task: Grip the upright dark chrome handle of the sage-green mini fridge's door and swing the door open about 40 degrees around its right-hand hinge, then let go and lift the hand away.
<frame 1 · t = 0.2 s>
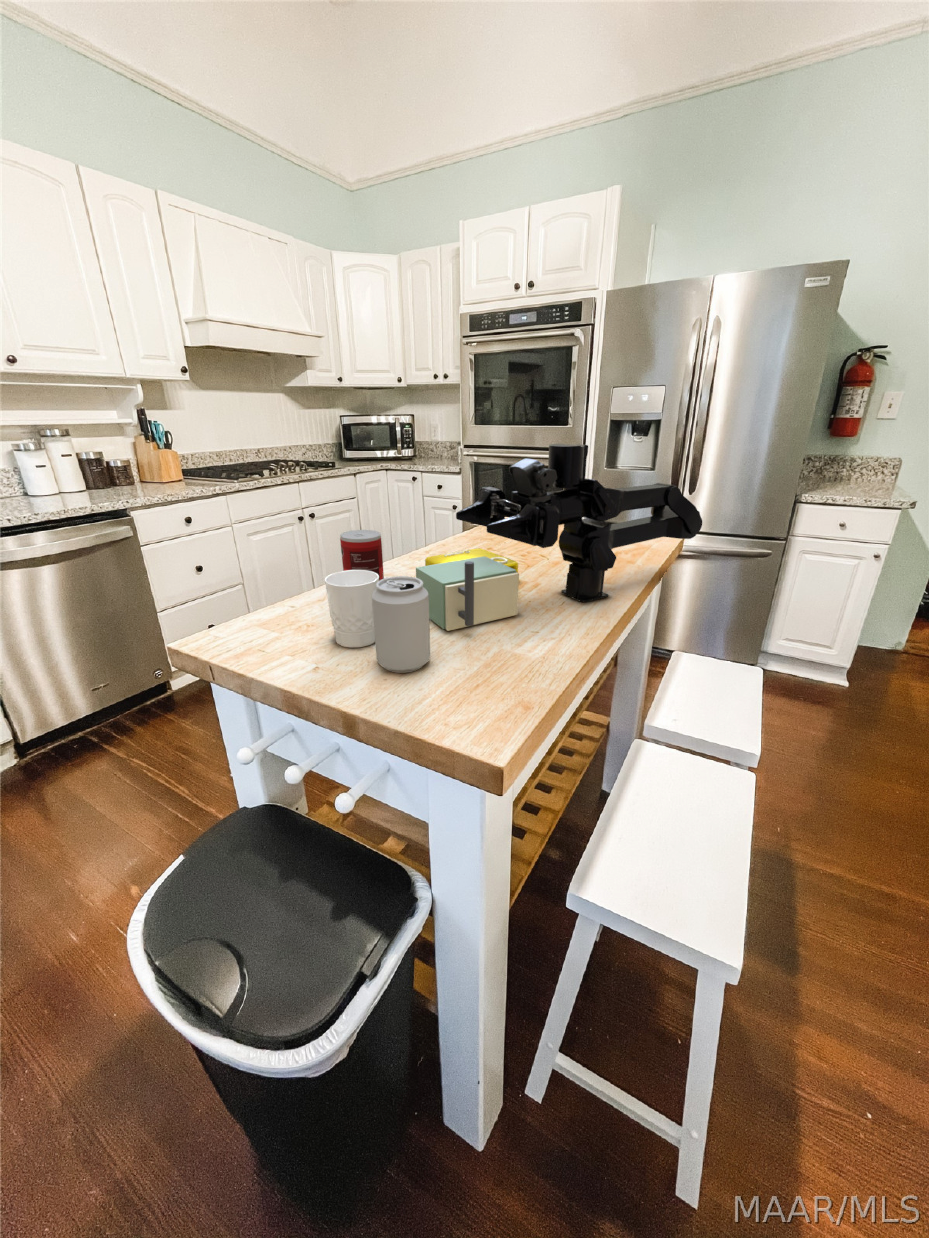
hand: (471, 522, 77), 17 cm above the table, tool horizontal, fingers open, 9 cm apart
white cup: (357, 639, 78), on the table
fridge door: (489, 591, 79), point 6 cm above the table, hinge at 0.0°
mini fridge: (465, 612, 88), on the table
canned food: (365, 589, 100), on the table
can: (404, 664, 70), on the table
element tile: (470, 580, 104), on the table
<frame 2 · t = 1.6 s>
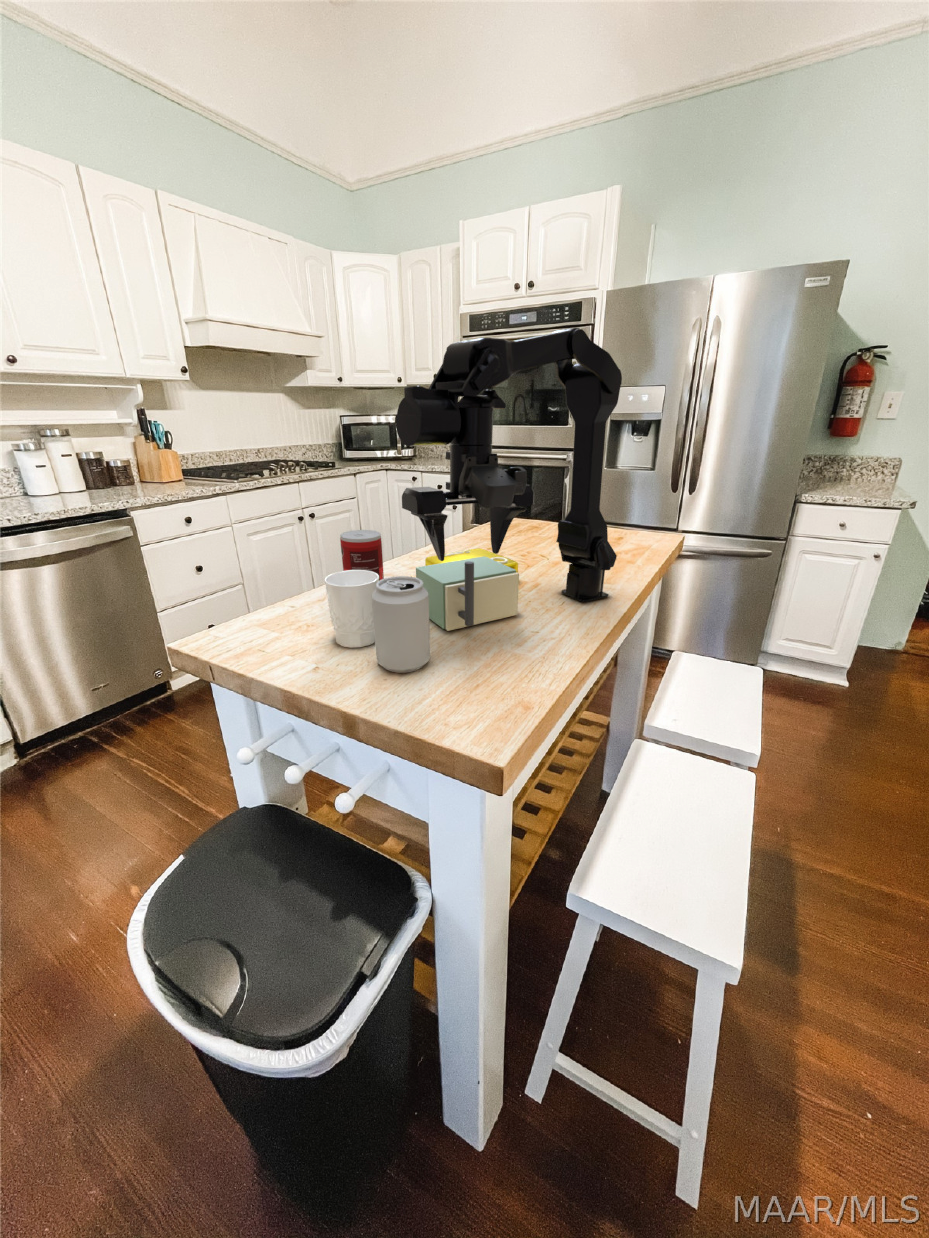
hand: (469, 556, 74), 13 cm above the table, tool pointing down, fingers open, 9 cm apart
nothing on the table moved.
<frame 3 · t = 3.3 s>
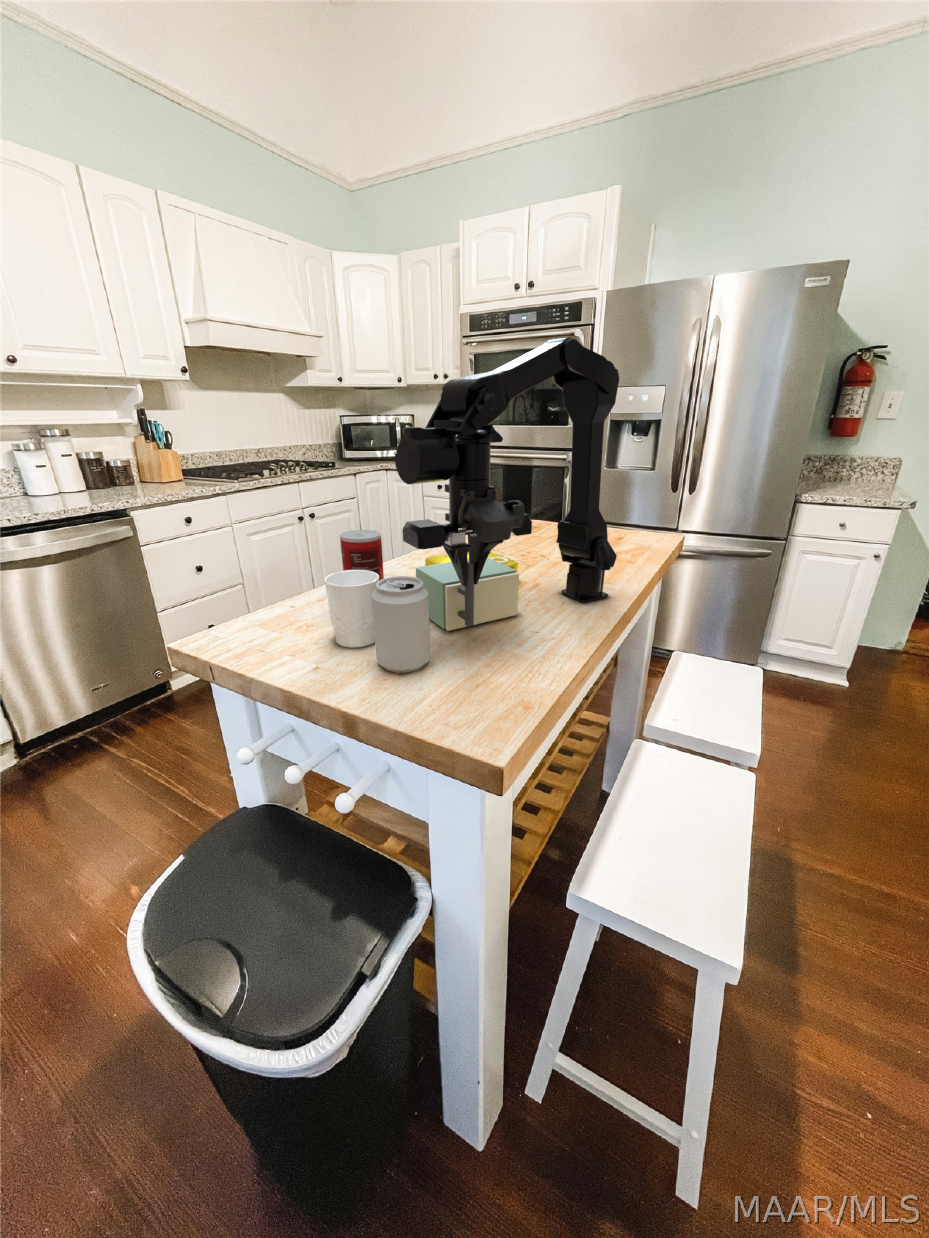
hand: (469, 584, 75), 9 cm above the table, tool pointing down, fingers closed on fridge door
fridge door: (489, 591, 79), point 6 cm above the table, hinge at 0.0°, touching gripper
everything else where it was.
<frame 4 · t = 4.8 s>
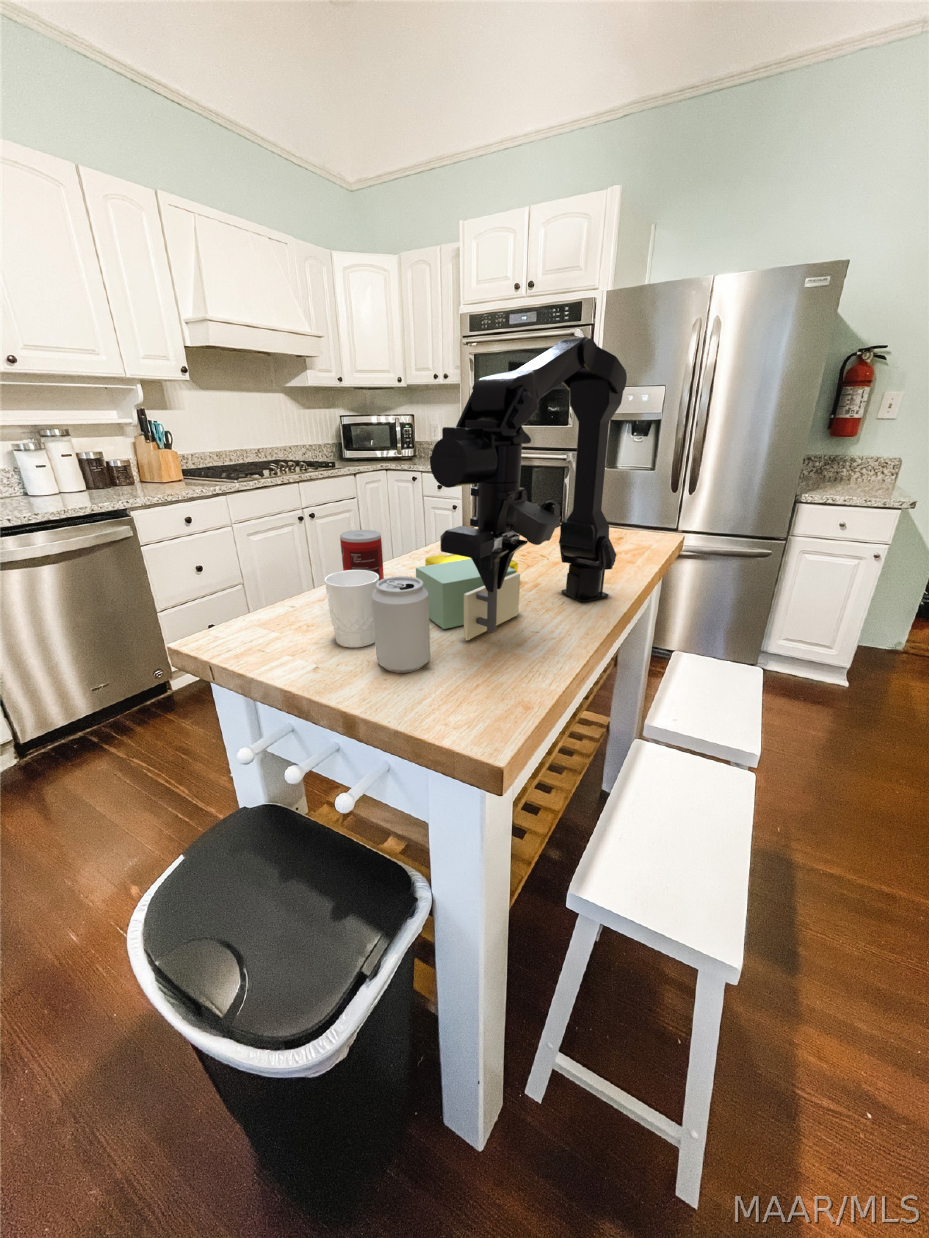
hand: (493, 590, 73), 9 cm above the table, tool pointing down, fingers closed on fridge door
fridge door: (502, 594, 78), point 6 cm above the table, hinge at 19.8°, touching gripper
everything else where it was.
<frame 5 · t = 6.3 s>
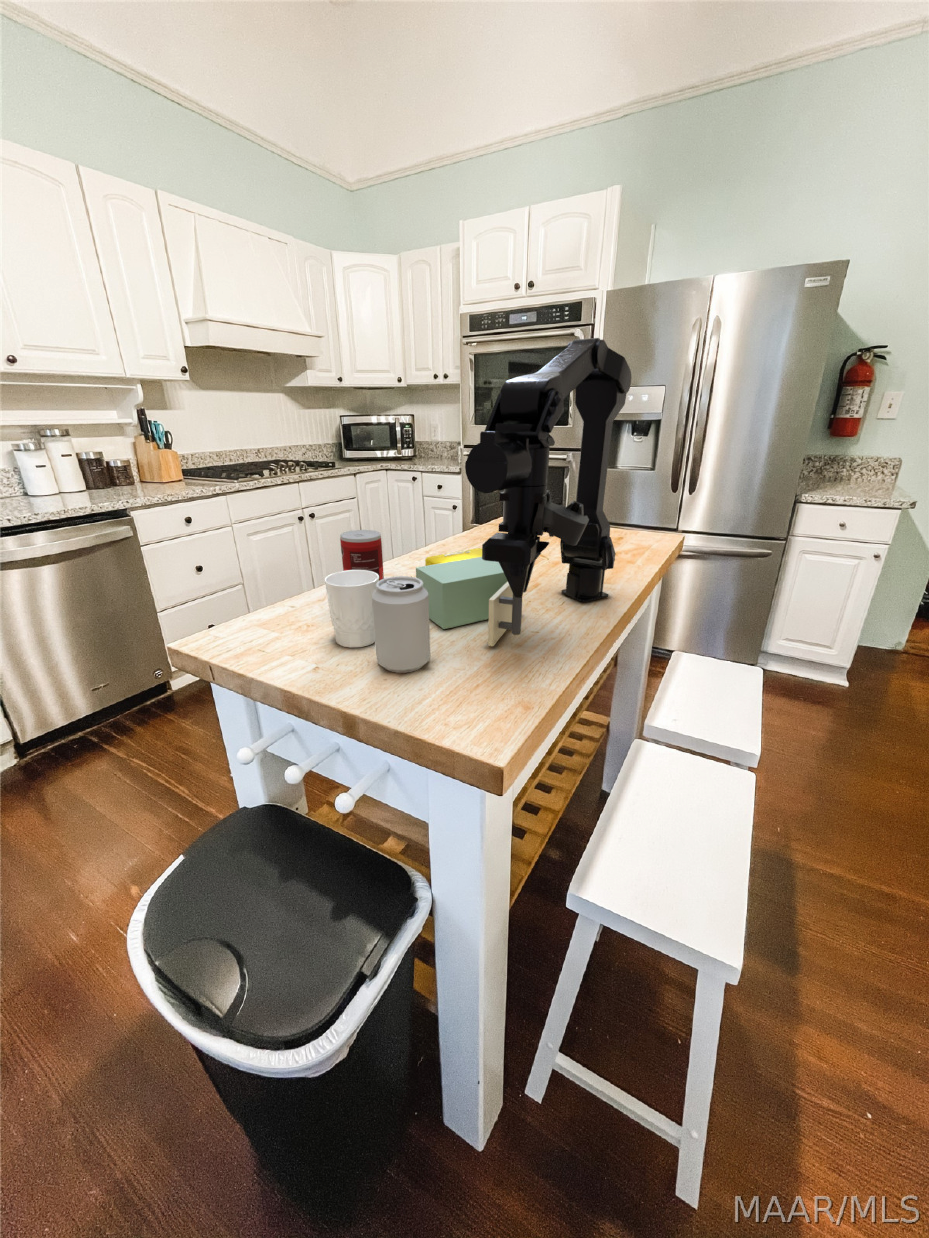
hand: (520, 594, 72), 8 cm above the table, tool pointing down, fingers closed
fridge door: (516, 596, 77), point 6 cm above the table, hinge at 37.8°
everything else where it was.
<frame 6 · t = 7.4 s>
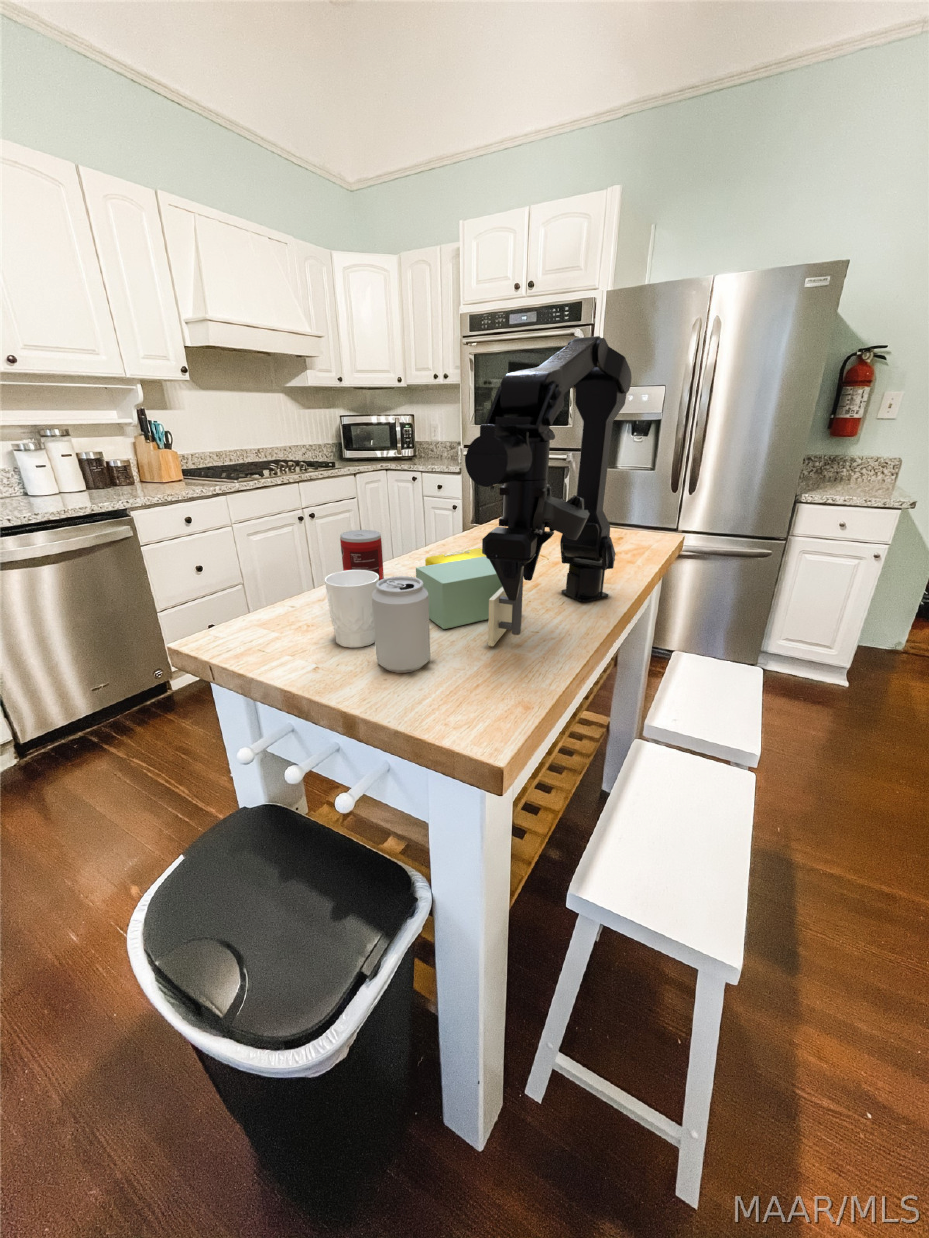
hand: (520, 589, 72), 9 cm above the table, tool pointing down, fingers open, 9 cm apart
nothing on the table moved.
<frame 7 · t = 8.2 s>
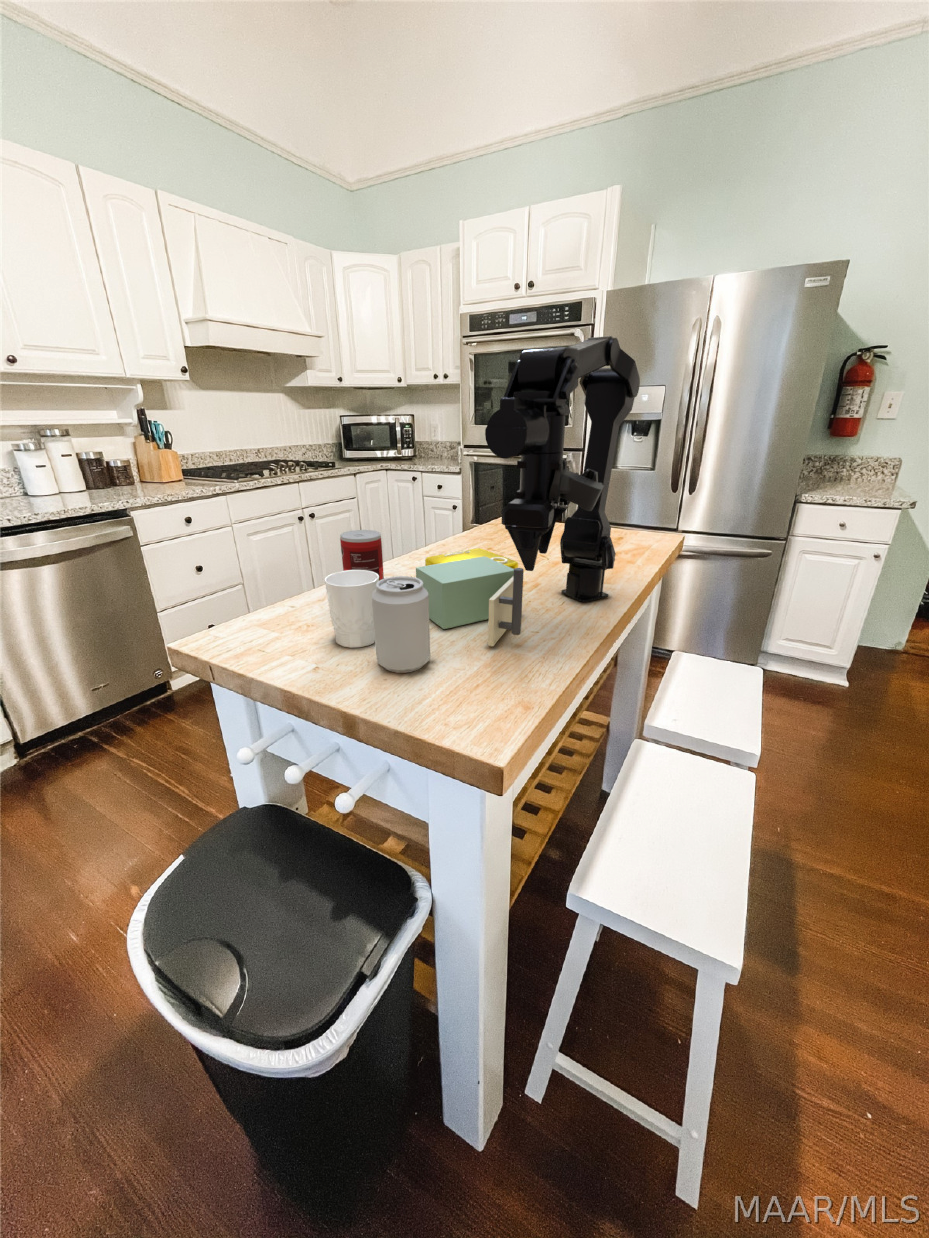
hand: (536, 561, 75), 12 cm above the table, tool pointing down, fingers open, 9 cm apart
nothing on the table moved.
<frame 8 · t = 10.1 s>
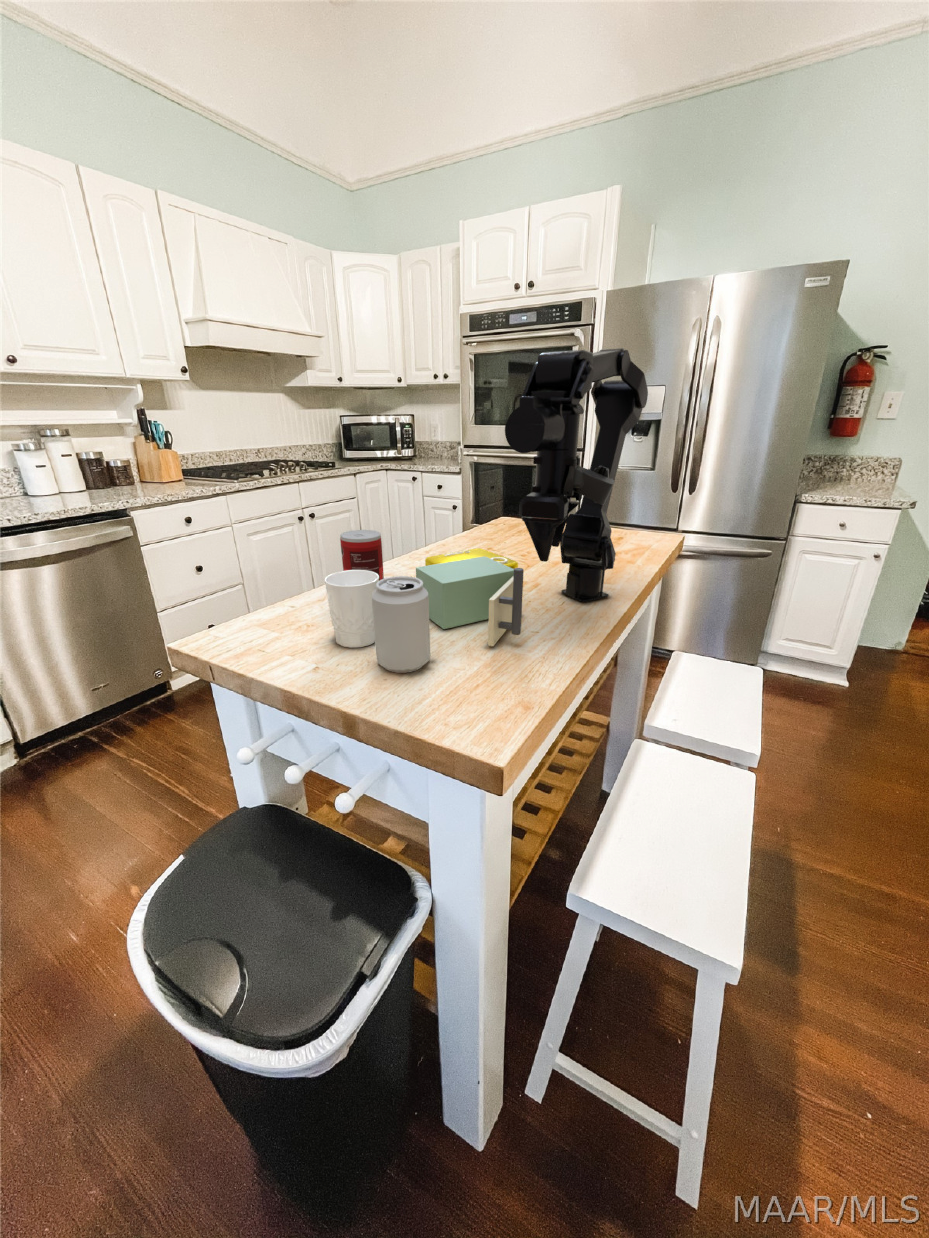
hand: (549, 553, 78), 12 cm above the table, tool pointing down, fingers open, 9 cm apart
nothing on the table moved.
at the end: fridge door at +38° (first picture: +0°); the gripper is holding nothing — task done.
